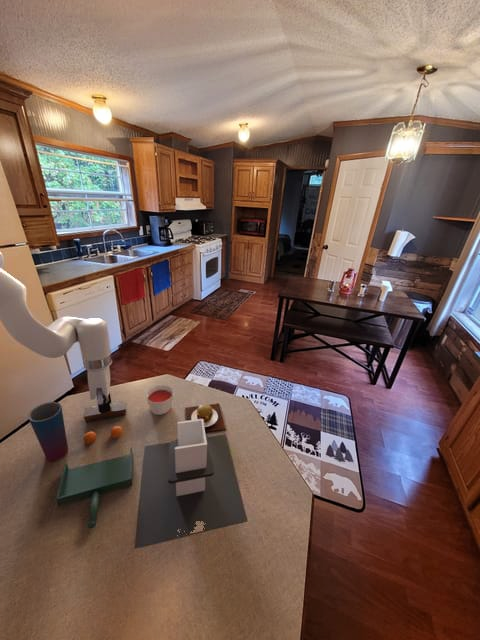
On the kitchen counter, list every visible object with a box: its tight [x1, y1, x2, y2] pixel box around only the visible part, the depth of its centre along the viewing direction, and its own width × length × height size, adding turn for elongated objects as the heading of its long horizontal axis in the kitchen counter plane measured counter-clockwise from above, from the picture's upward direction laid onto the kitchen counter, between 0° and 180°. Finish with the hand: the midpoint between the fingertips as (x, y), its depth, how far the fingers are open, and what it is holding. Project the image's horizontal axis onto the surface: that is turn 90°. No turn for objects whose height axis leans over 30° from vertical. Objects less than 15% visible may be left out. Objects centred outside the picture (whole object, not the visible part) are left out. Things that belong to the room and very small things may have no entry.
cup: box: [27, 401, 69, 462], centre depth 67 cm, size 7×7×15 cm
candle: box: [145, 384, 175, 416], centre depth 87 cm, size 9×9×6 cm
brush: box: [83, 397, 127, 423], centre depth 82 cm, size 4×12×8 cm, turn 111°
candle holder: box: [134, 419, 248, 549], centre depth 63 cm, size 25×24×16 cm
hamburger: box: [184, 403, 227, 434], centre depth 84 cm, size 12×12×6 cm
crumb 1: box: [83, 431, 97, 445], centre depth 73 cm, size 3×3×3 cm
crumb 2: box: [110, 425, 123, 439], centre depth 76 cm, size 3×3×3 cm
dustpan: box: [55, 447, 134, 530], centre depth 61 cm, size 17×16×3 cm
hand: (105, 407), depth 82 cm, fingers closed on brush, 2 cm apart
